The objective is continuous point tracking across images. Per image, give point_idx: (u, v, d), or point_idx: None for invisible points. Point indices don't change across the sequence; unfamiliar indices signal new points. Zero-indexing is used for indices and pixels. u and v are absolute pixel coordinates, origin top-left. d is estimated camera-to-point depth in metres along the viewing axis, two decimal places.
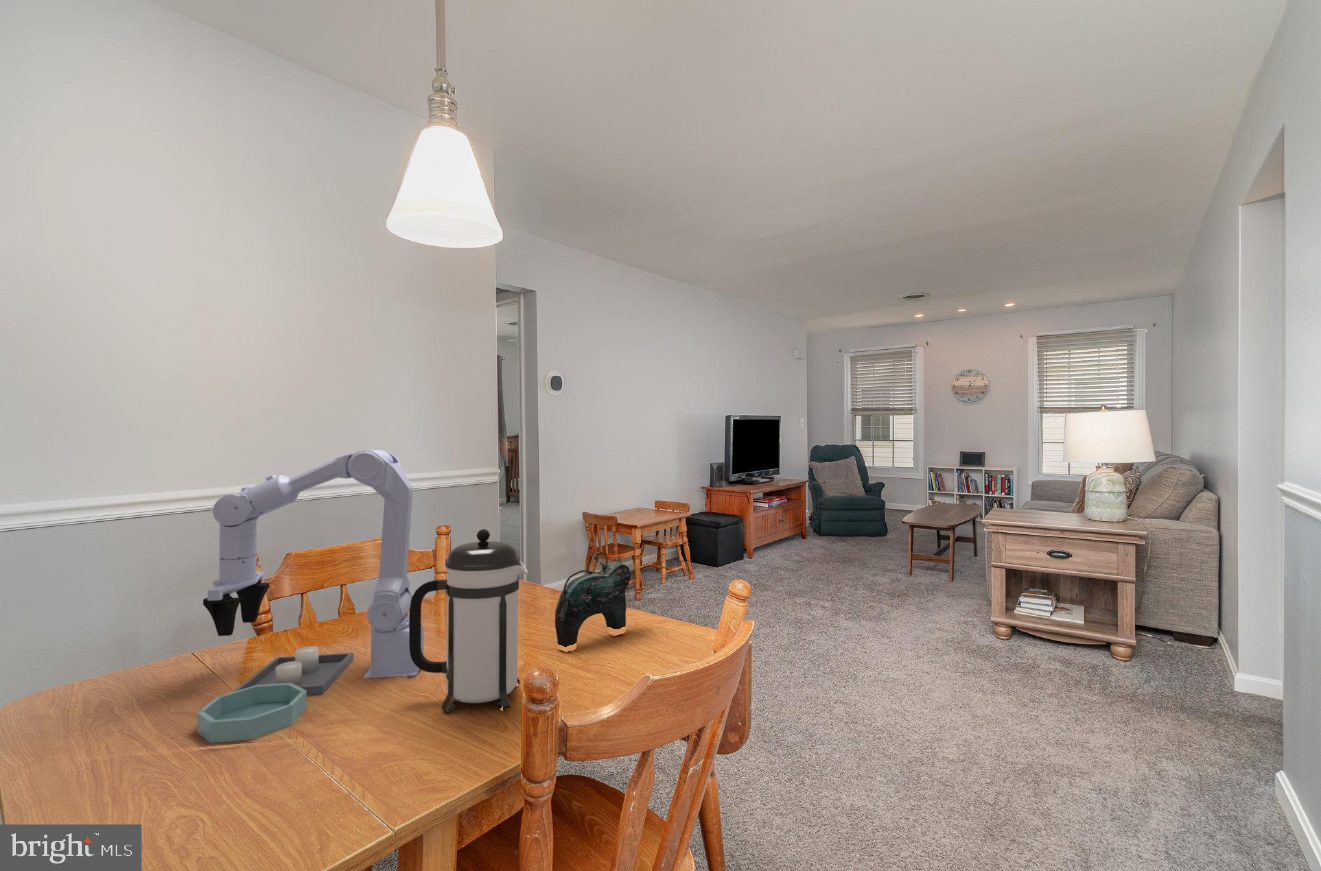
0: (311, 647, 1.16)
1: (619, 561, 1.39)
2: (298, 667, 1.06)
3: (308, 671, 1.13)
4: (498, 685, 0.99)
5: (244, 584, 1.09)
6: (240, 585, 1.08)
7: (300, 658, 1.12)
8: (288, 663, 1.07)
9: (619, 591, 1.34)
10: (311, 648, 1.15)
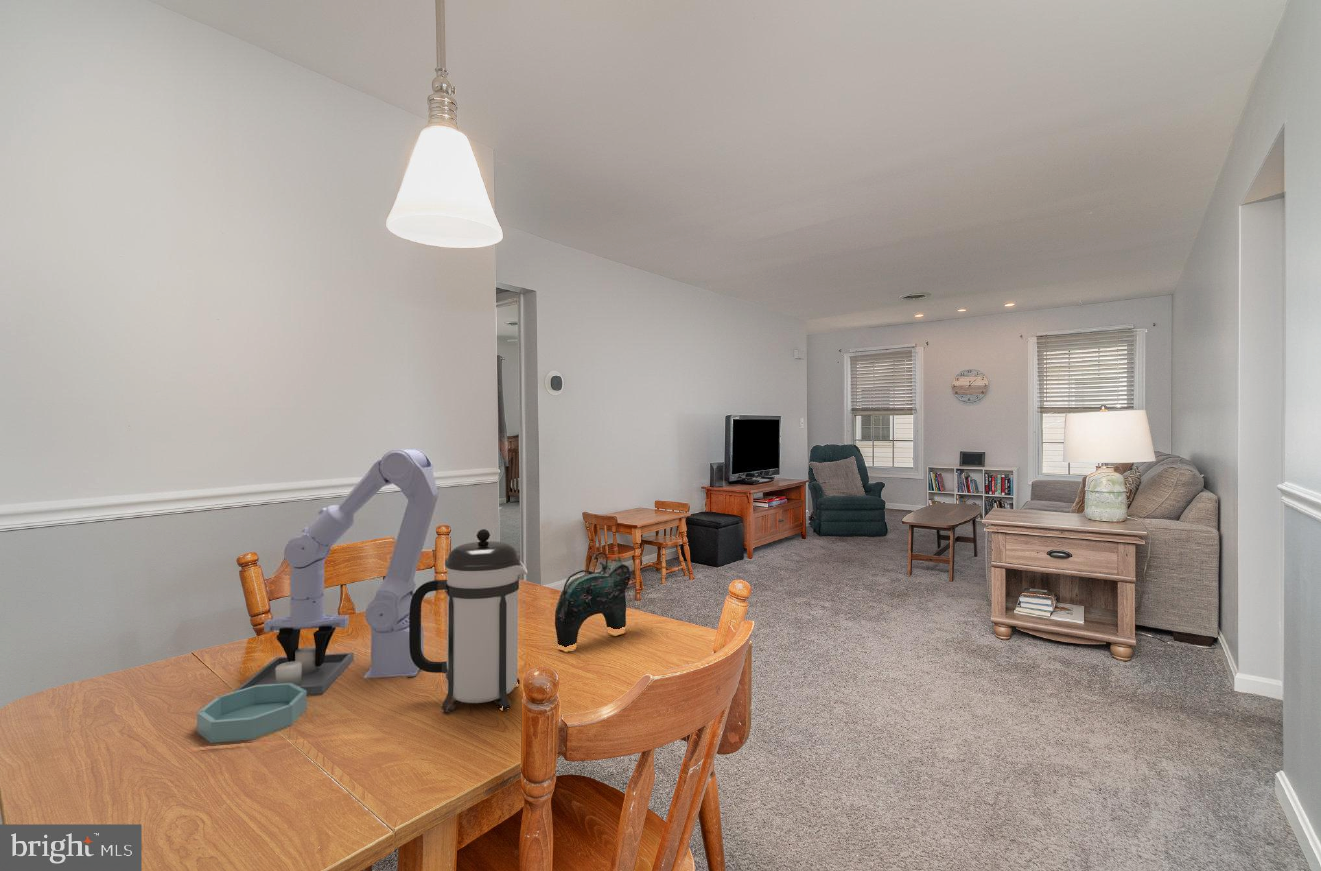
0: (311, 647, 1.16)
1: (619, 561, 1.39)
2: (298, 667, 1.06)
3: (308, 671, 1.13)
4: (498, 685, 0.99)
5: (288, 624, 1.12)
6: (285, 624, 1.12)
7: (300, 658, 1.12)
8: (288, 663, 1.07)
9: (619, 591, 1.34)
10: (311, 648, 1.15)
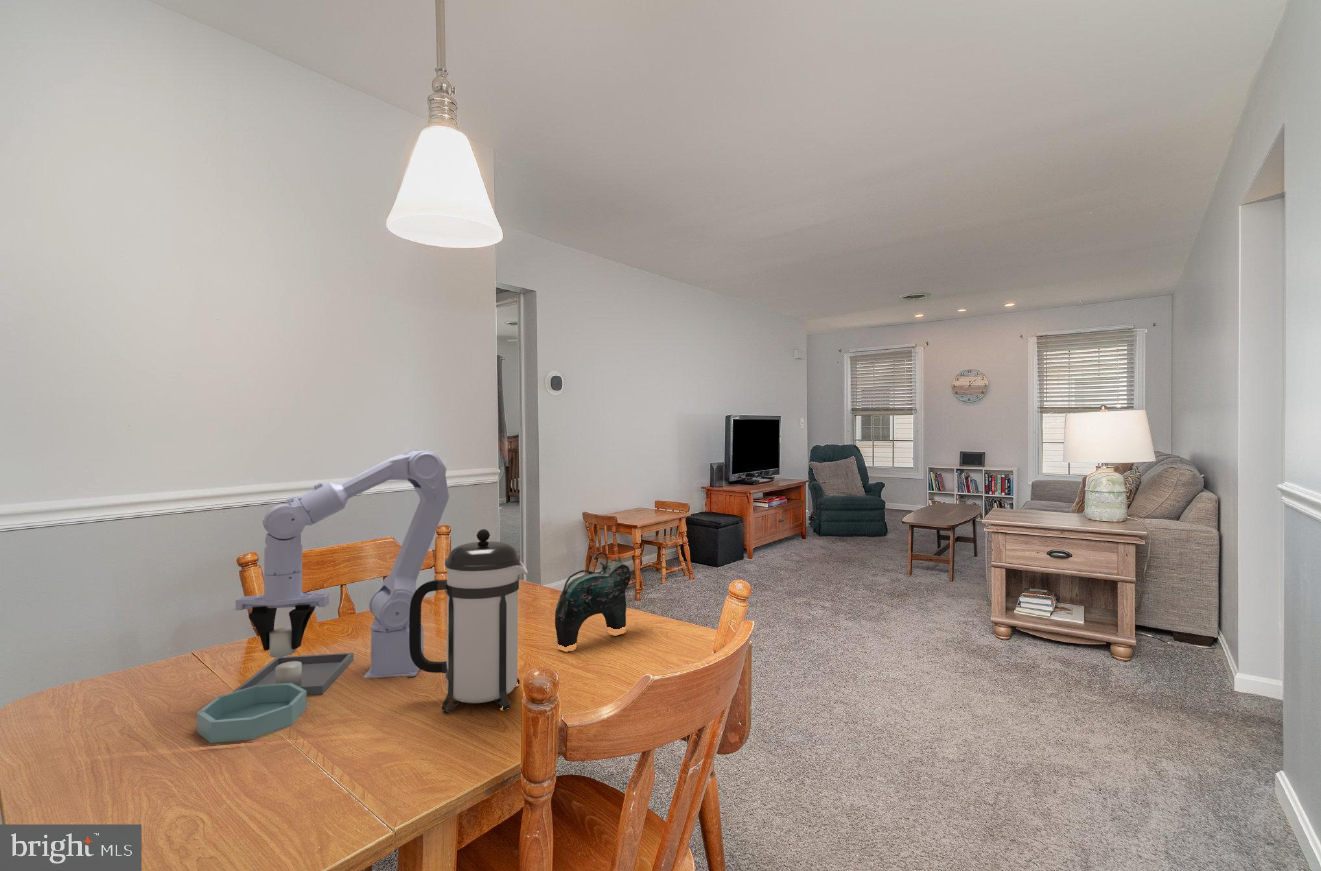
0: (288, 628, 1.06)
1: (619, 561, 1.39)
2: (298, 667, 1.06)
3: (283, 654, 1.03)
4: (498, 685, 0.99)
5: (262, 602, 1.02)
6: (258, 602, 1.02)
7: (275, 640, 1.02)
8: (288, 663, 1.07)
9: (619, 591, 1.34)
10: (287, 629, 1.05)
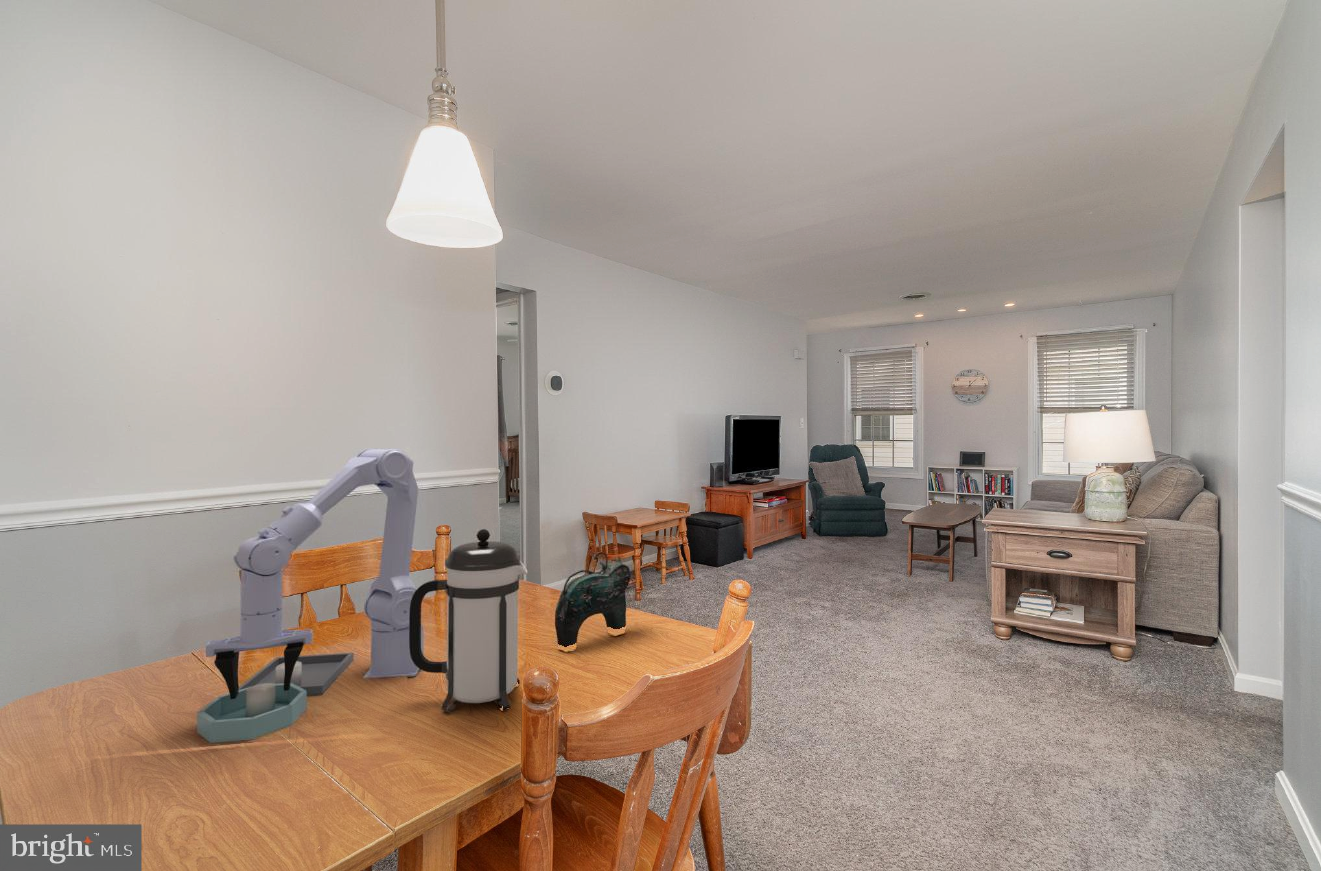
0: (264, 685, 0.98)
1: (619, 561, 1.39)
2: (298, 667, 1.06)
3: None
4: (498, 685, 0.99)
5: (241, 645, 0.93)
6: (236, 645, 0.93)
7: (255, 699, 0.95)
8: None
9: (619, 591, 1.34)
10: (265, 686, 0.97)
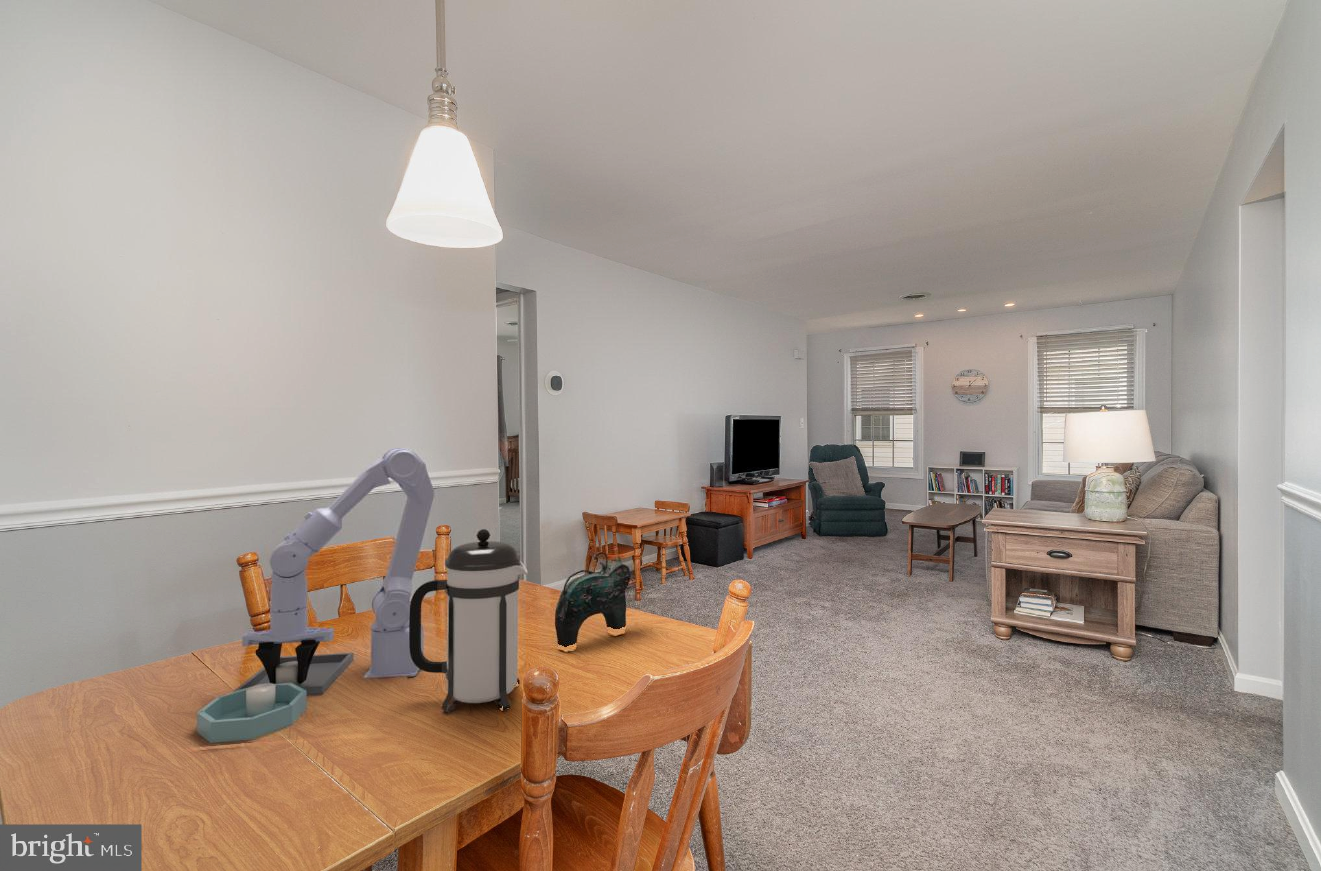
0: (264, 685, 0.98)
1: (619, 561, 1.39)
2: None
3: None
4: (498, 685, 0.99)
5: (268, 639, 1.04)
6: (264, 638, 1.04)
7: (255, 699, 0.95)
8: (288, 663, 1.07)
9: (619, 591, 1.34)
10: (265, 686, 0.97)
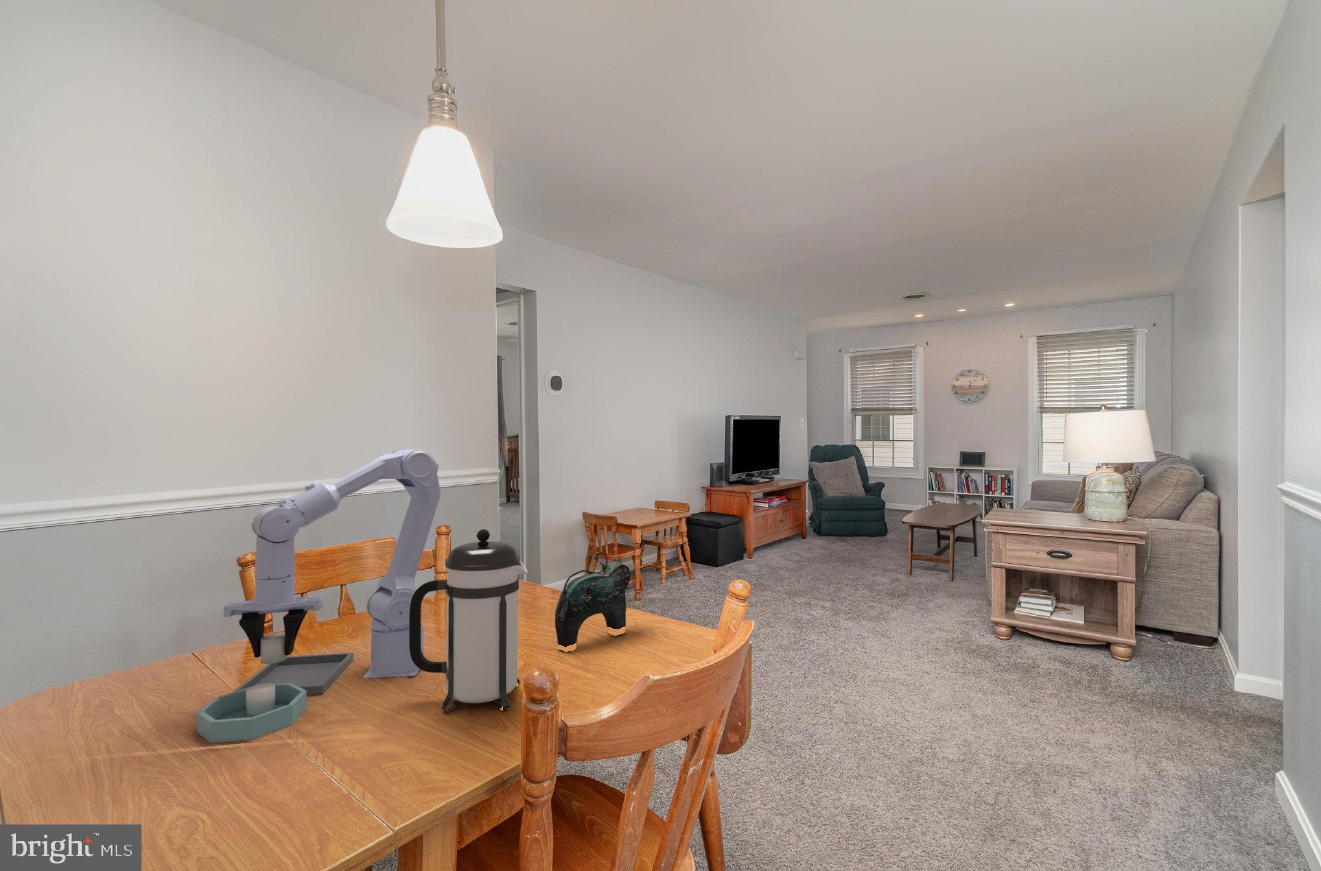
0: (264, 685, 0.98)
1: (619, 561, 1.39)
2: None
3: None
4: (498, 685, 0.99)
5: (254, 608, 0.98)
6: (249, 608, 0.98)
7: (255, 699, 0.95)
8: (273, 634, 1.02)
9: (619, 591, 1.34)
10: (265, 686, 0.97)
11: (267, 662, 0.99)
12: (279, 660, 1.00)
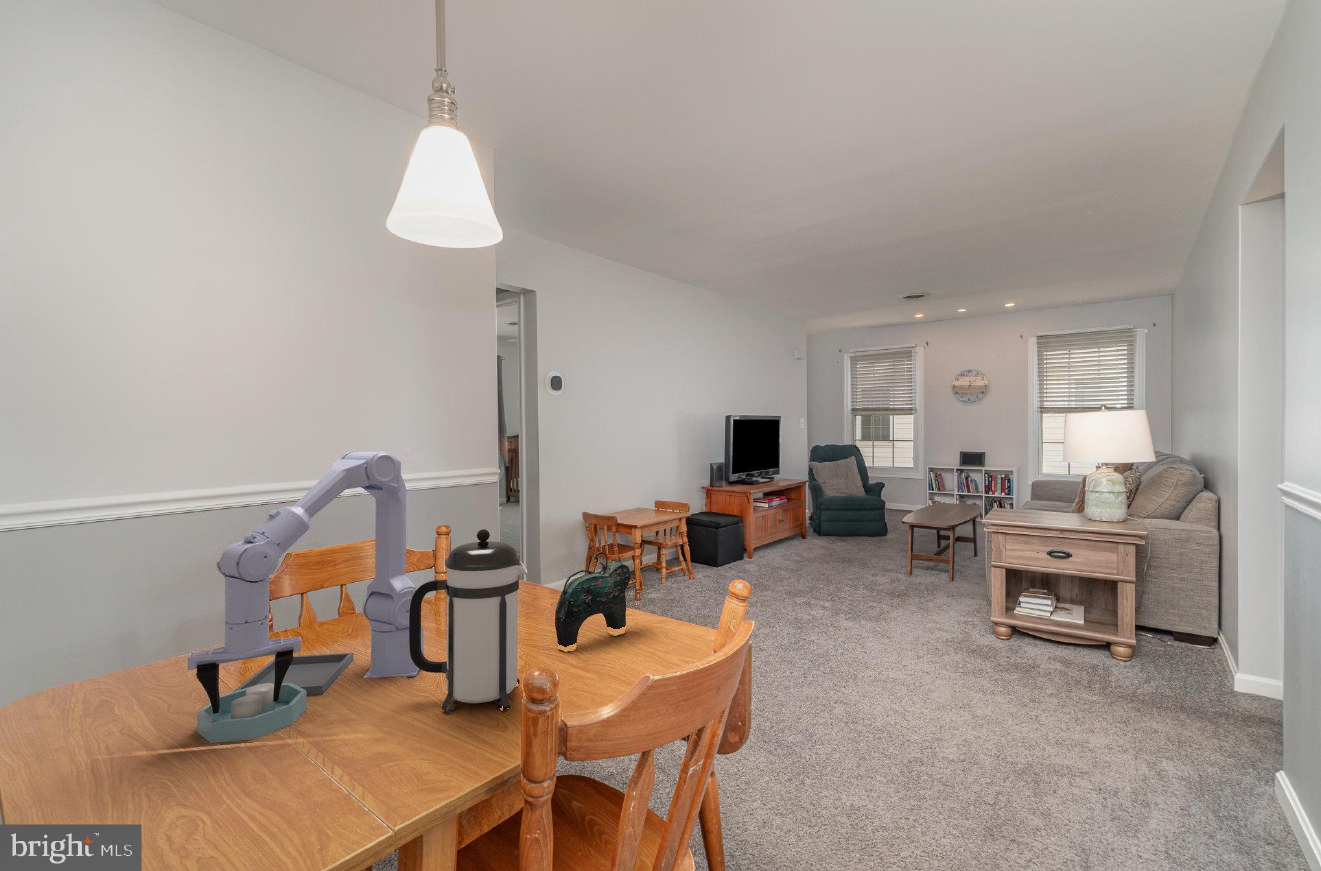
0: (264, 685, 0.98)
1: (619, 561, 1.39)
2: (260, 700, 0.92)
3: None
4: (498, 685, 0.99)
5: (227, 656, 0.89)
6: (221, 656, 0.89)
7: None
8: (243, 698, 0.93)
9: (619, 591, 1.34)
10: (265, 686, 0.97)
11: None
12: None
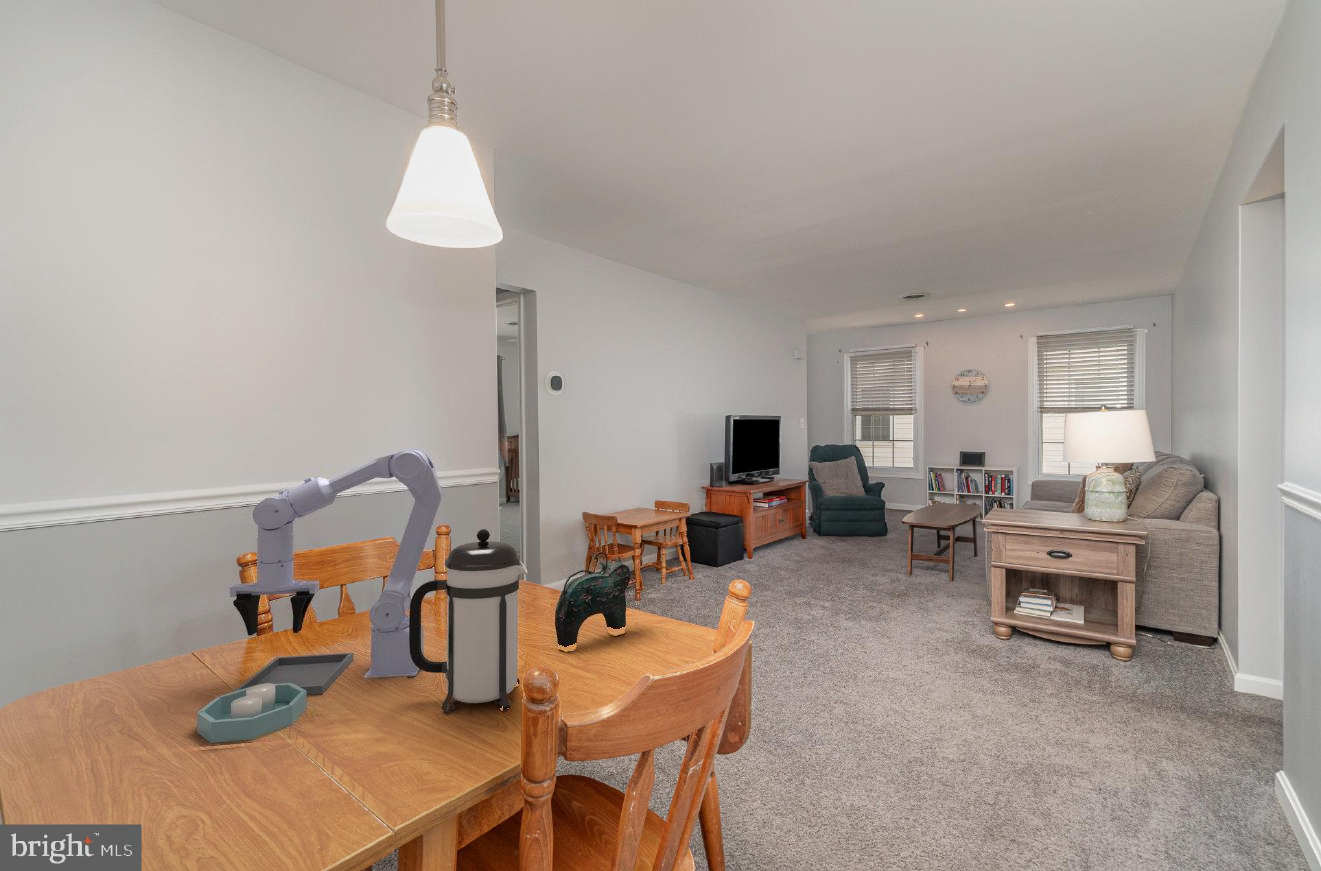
0: (264, 685, 0.98)
1: (619, 561, 1.39)
2: (260, 700, 0.92)
3: None
4: (498, 685, 0.99)
5: (255, 589, 1.07)
6: (251, 589, 1.07)
7: None
8: (243, 698, 0.93)
9: (619, 591, 1.34)
10: (265, 686, 0.97)
11: None
12: None
